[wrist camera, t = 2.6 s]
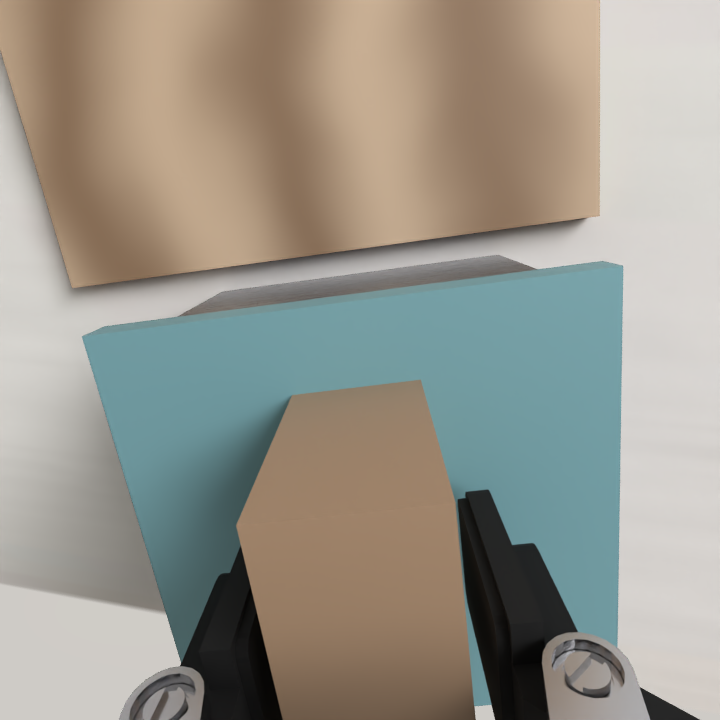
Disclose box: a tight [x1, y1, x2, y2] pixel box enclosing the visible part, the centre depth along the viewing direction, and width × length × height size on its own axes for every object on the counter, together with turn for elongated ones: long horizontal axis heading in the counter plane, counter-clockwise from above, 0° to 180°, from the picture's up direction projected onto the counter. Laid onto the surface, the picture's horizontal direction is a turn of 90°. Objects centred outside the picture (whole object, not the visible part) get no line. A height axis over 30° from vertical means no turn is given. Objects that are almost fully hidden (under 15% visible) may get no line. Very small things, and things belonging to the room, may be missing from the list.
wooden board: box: [0, 0, 600, 288], centre depth 17 cm, size 20×16×1 cm
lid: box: [82, 261, 623, 720], centre depth 11 cm, size 12×12×8 cm
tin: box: [178, 255, 538, 317], centre depth 17 cm, size 11×11×8 cm
